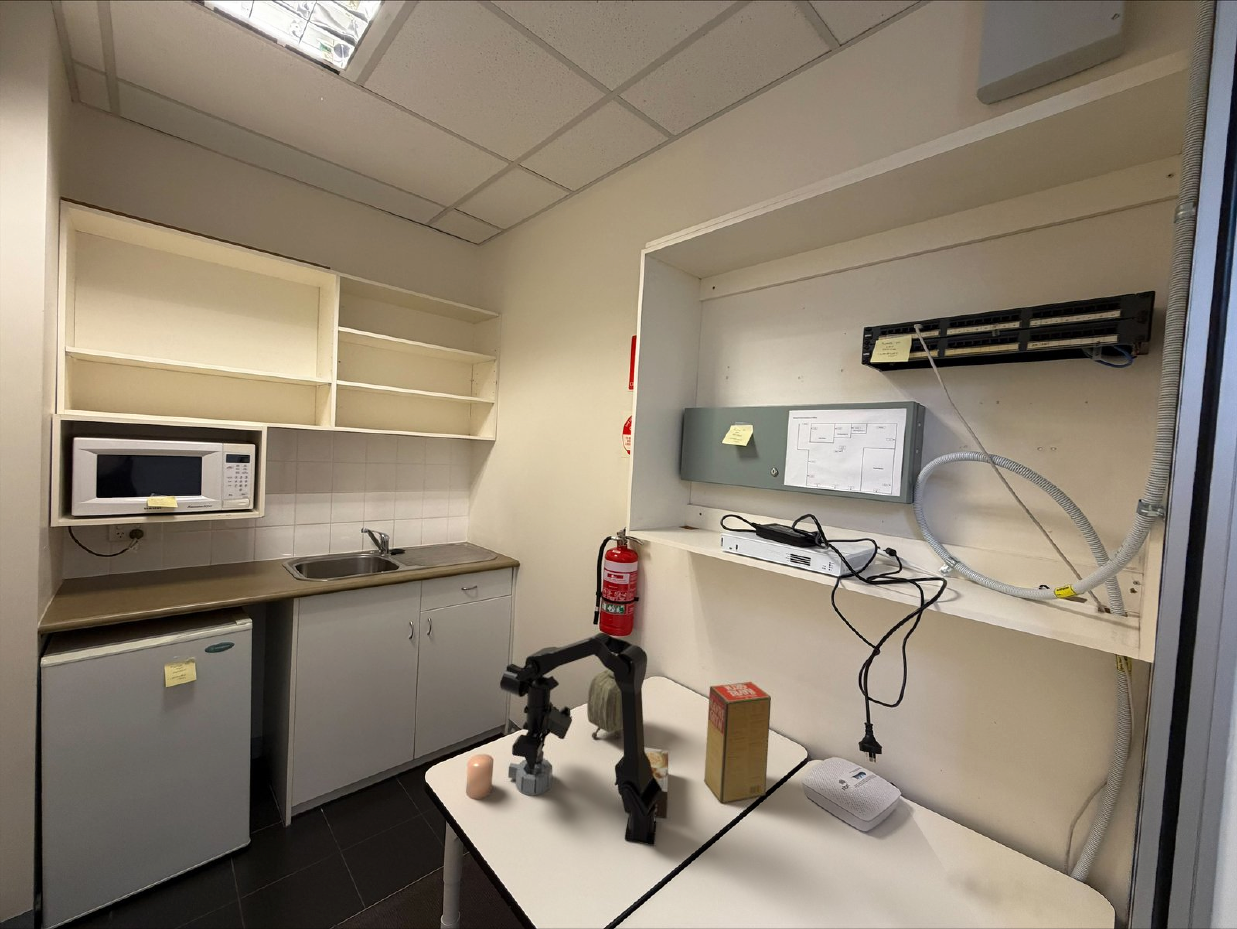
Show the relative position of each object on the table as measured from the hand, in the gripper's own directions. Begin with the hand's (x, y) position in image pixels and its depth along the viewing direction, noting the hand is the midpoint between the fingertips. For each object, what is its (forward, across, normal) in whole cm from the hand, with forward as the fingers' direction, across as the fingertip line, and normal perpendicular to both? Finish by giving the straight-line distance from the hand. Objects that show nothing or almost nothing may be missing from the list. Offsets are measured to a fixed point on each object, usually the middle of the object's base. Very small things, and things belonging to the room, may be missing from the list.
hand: (535, 763), depth 120 cm
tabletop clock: (+5, +26, -16) cm, 31 cm away
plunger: (+4, 0, 0) cm, 4 cm away
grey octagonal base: (+5, 0, +1) cm, 5 cm away
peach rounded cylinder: (+5, -6, +12) cm, 14 cm away
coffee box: (+2, +12, -28) cm, 31 cm away
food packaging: (+5, +10, -50) cm, 51 cm away
